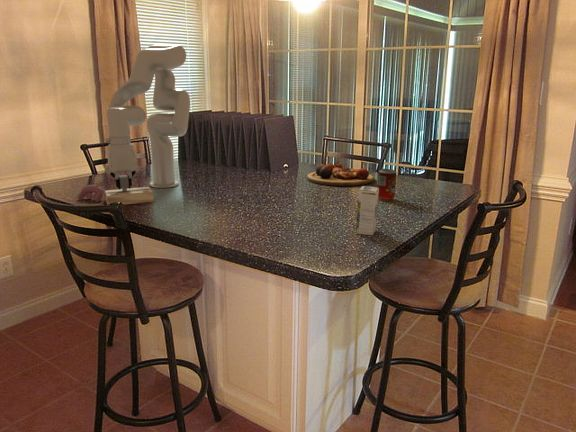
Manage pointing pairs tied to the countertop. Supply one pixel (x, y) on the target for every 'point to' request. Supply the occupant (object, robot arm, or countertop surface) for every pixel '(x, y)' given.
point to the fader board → (130, 195)
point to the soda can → (386, 184)
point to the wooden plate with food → (339, 175)
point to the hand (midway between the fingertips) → (124, 187)
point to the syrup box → (367, 210)
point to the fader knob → (124, 182)
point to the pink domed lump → (90, 189)
